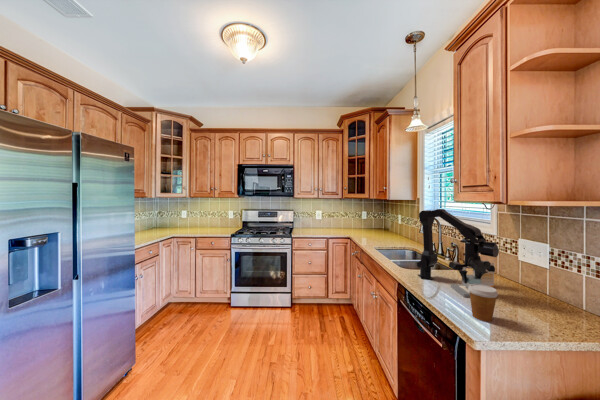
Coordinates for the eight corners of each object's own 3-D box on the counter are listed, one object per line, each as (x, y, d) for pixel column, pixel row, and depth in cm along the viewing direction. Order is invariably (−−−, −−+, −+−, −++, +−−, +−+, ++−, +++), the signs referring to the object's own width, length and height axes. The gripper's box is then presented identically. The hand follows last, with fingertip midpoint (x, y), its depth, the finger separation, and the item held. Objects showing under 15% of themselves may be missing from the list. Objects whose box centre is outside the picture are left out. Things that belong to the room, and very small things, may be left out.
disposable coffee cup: (471, 309, 102) (471, 281, 102) (499, 318, 95) (500, 288, 95) (464, 317, 96) (465, 287, 95) (494, 326, 88) (495, 294, 88)
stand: (450, 286, 127) (450, 283, 127) (477, 288, 125) (477, 285, 125) (464, 297, 114) (464, 293, 114) (493, 298, 113) (493, 295, 112)
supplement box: (488, 284, 131) (488, 260, 131) (494, 287, 126) (494, 262, 126) (472, 283, 132) (472, 260, 132) (477, 286, 127) (478, 262, 127)
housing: (469, 289, 117) (469, 278, 116) (461, 283, 124) (461, 274, 123) (480, 289, 116) (480, 279, 116) (472, 284, 123) (472, 274, 123)
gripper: (460, 256, 113) (459, 288, 113) (503, 257, 110) (502, 291, 111) (448, 250, 124) (448, 280, 124) (487, 251, 121) (487, 282, 122)
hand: (470, 283), depth 120 cm, fingers closed on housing, 5 cm apart
